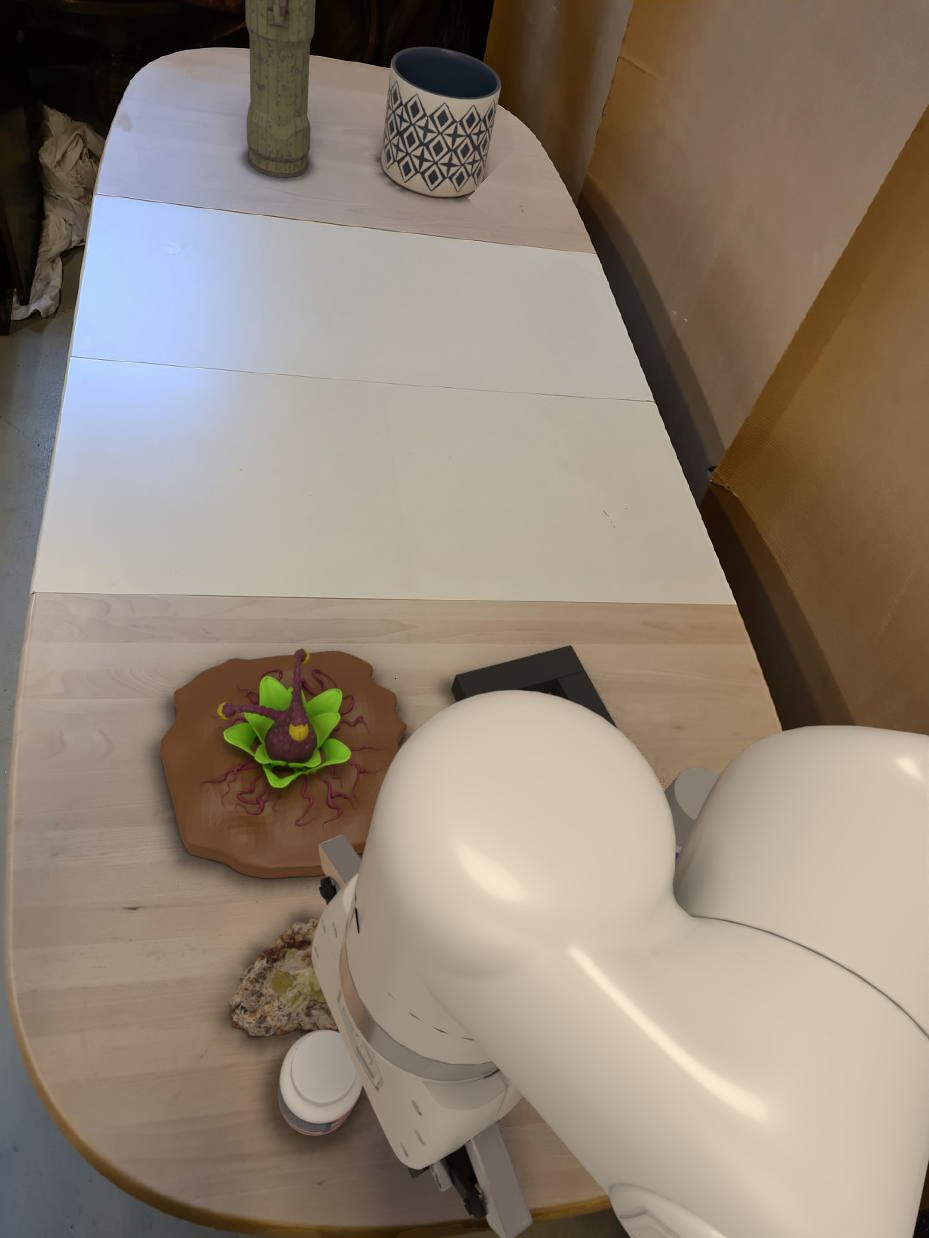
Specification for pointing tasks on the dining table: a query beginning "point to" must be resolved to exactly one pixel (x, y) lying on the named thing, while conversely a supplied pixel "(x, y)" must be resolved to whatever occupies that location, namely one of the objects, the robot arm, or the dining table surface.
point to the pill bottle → (318, 1083)
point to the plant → (279, 759)
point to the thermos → (279, 85)
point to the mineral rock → (282, 988)
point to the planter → (438, 121)
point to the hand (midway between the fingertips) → (392, 1053)
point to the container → (688, 799)
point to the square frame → (536, 679)
